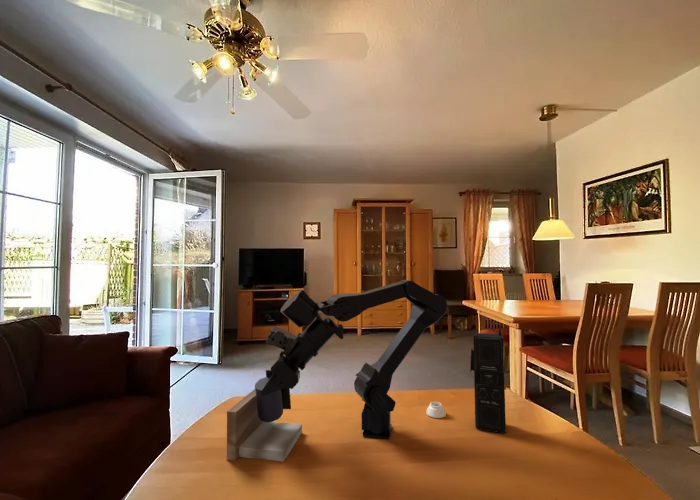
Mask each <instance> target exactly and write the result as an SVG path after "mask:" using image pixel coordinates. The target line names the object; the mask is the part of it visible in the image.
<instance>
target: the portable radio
mask: <svg viewBox="0 0 700 500" xmlns="http://www.w3.org/2000/svg"><path fill="white" fill-rule="evenodd" d="M501 330H502V329H501V325H498V334H497V333H482V332H481V333H480V332H475V333H473V337H472V338H473V339H472V341H473V348H471V350H470V370H469V371H470V373H472V371H473V372H474V374H473V375H474V376H473V381H474V382H473V383H474V385H473V386H474V413H475V414H474V424H475V425H474V428H476V430H481V429H483V430H482V431H487V430H489V432H493V431H497V432H496V433H499V432H503V433H502V434H506V433H505V432H507V430H506V429H507V427H506V426H507V425H506V423H507V421H506V395H505V394H506V391H505V390H506V389H505V353H504V352H505V348H504V344H505V343H504V336H503V334H502V332H501Z"/></svg>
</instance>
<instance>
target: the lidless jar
mask: <svg viewBox="0 0 700 500" xmlns="http://www.w3.org/2000/svg"><path fill="white" fill-rule="evenodd" d="M425 412H426V415H428V416H429V417H431V418H434V419H441V418H444V417H446V416H447V415H446V414H447V413H446V410H445V409H444V407H443V403H441V402H439V401H431V402H430V403H429V405H428V407H427V409H426V411H425Z"/></svg>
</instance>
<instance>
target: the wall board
mask: <svg viewBox="0 0 700 500" xmlns="http://www.w3.org/2000/svg"><path fill="white" fill-rule="evenodd" d="M302 433H303V424H302V423H290V422H279V421H278V422H277V421H273V422H264V421H261V420H260V419H259V417H258V410H257V401H256V392H255V388H254V389H253V390H251V392H249V393H248V394H247V395H245V396H244V397H243V398H241V400H239V401H238V402H237V403H235V404H234V405H233V406H232V407H231V408H229V409H228V410H227V411H226V461H232V462H233V461H235V462H236V461H237V460H238V459H239V458H249V459H257V460H268V461H274V462H275V461H278V462H285V461H286V459H287V457H288V456H289V454H290V452H291V451H292V449H293V447H294V446H295V445H296V443H297V441H298V440H299V438H300V437H301V435H302Z"/></svg>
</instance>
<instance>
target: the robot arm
mask: <svg viewBox="0 0 700 500" xmlns="http://www.w3.org/2000/svg"><path fill="white" fill-rule="evenodd" d="M401 299H406V300H407V301H408V302H409V303H411V304H412V305H411V309H410V314H409V315H410V316H409V318H408V319H407V320H406V322H405V323H404V324H403V326H402V327H401V328H400V330H399V331H398V332H397V334H396V336H395V337H394V338H393V339H392V341H391V342H390V344H388V346H387V347H386V349H385V351H383V353H382V354H381V356H380V357H379V358H378V360H377V361H376V362H375V363H372V364H371V365H370V363H369V362H365V363H364V364H363V365H362V367H361V368H360V370H359V372H357V373H356V374H355V380H354V383H353V385H354V391H355V393H356V394H357V395H358V396H359V397H360V399H361V401H363V402H364V405H363V408H362V411H361V414H360V415H361V430H362V437H367V438H376V439H390V438H391V436H392V435H391V433H392V425H393V424H392V422H391V412H394V409H395V407H396V403H397V402H396V401H395V400H394V399H393V398H392V397H391V396H390V395H389V394H388V393H389V391H390V389H391V384H392V379H393V375H394V373H395V371H396V370H397V369H398V367H399V366H400V365H401V363H402V362H403V361H404V360H405V358H406V356H408V354H409V352H410V351H411V350H412V348H413V347H414V345H415V344H416V343H417V341H418V340H419V338H420V337H421V336H422V334H423V333H424V331H425V330H426V329H427V328H428V327H431V326H432V325H434V324H436V323H437V322H438V321H439V320H441V318H442V317H443V316H444V315H445V314H446V313H447V310H448V302H447V299H446V298H445V296H443V295H442V294H437V293H434V292H432V291H430V290H428V289H427V288H424V287H422V286H421V285H419V284H417V283H416V282H415V281H413V280H410V279H409V280H408V279H401V280H399V281H397V282H394V283H390V284H387V285H383V286H379V287H376V288H373V289H369V290H365V291H362V292H355V293H340V294H339V293H338V294H337V293H336V294H333V295H331V296H329V297H327V300H324V301H319V302H315V301H314V300H313V299H312V298H311V297H310V296H309V295H308V293H307V292H305V290H303V289H299V290H298V292H296V293H294V295H292V296H291V297H290V298H288V299H287V300H286V301H285V302H284V304H283V305H282V307H281V308H280V313H281V314H282V315H284V316H285V317H286V318H287V319H288V320H289V321H290V322H292V324H294V325H295V326H296V327H298V328H302V327H304V328H305V329H304V330H303V331H301V332H299V333H297V334H294V333H292V332H290V331H288V330H285V329H283V328H280V327H279V326H273V327H272V328H271V329H270V331H269V333H268V336H267V338H266V341H265V343H266V344H268V345H269V346H271V345H272V346H274V347H276V348H279V349H281V351H280V353H279V356H278V358H277V359H276V360H275V361H274V362H273V364H272V365H271V367H270V369H269V370H271V371H272V376H271V378H270V379H269V381H268V382H267V384H266V385H265V387H264V388H263V390H262V391H261V394H262V395H263V396H266V395H268V394H270V393H273V392H275V391H278V390H280V389H283V388H286V387H289V388H290V390H293V389H294V388H295V387H296V385H298V383H299V381H300V378H301V371H303V370H304V369H306V367H307V366H306V365H307V364H308V363H309V362H310V361H311V360H312V359H313V358H315V357H316V356H318V354H319V351H320V350H321V349H322V348H323V347H324V346H325V345H326V344H327V343H328V342H329V340H331V339H332V338H333V337H334V336H335V335H336V336H337V338H339V339H340V340H343V339H344V325H343V324H342V322H343V323H344V322H348V321H350V320H353V319H354V318H357V317H358V316H360V315H362V313H363V312H365V311H366V310H369V309H371V308H374V307H377V306H381V305H385V304H386V303H390V302H394V301H397V300H401ZM321 314H322V315H325V316H327V317H324V316H322V315H321ZM331 318H333V319H335V320H336V321H339V322H341V324H338V323H336V322H335V321H333V319H331ZM282 350H283V351H282ZM300 370H301V371H300Z"/></svg>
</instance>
